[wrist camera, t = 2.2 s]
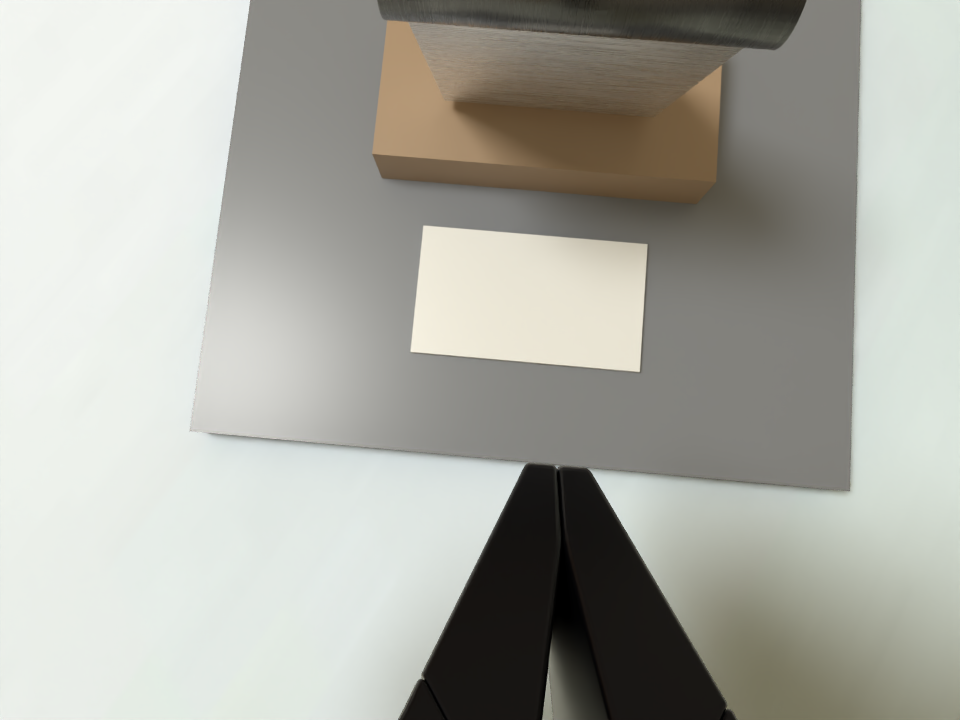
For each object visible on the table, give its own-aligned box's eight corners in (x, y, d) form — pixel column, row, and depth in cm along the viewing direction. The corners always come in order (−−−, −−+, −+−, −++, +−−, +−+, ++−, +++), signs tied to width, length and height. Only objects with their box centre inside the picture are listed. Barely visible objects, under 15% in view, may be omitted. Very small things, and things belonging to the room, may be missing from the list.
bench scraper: (663, 125, 19) (805, 29, 10) (433, 107, 19) (370, -3, 10) (673, 50, 18) (830, -120, 9) (438, 32, 19) (376, -152, 10)
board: (832, 488, 21) (886, 496, 18) (203, 431, 21) (160, 430, 18) (845, -38, 23) (895, -104, 20) (274, -80, 23) (245, -151, 20)
